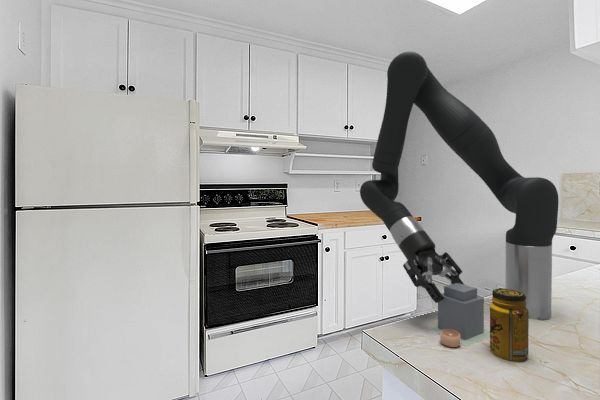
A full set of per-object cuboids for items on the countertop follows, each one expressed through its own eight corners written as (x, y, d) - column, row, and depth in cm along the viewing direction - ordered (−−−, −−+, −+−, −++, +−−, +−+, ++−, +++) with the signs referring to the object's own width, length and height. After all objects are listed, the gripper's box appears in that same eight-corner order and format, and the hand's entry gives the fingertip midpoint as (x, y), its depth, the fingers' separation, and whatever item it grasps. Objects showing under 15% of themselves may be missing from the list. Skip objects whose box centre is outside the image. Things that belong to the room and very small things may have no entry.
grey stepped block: (437, 328, 70) (437, 286, 70) (456, 321, 74) (456, 281, 73) (465, 340, 65) (465, 294, 64) (483, 332, 68) (483, 288, 68)
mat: (455, 318, 76) (455, 317, 76) (497, 335, 67) (497, 334, 67) (425, 328, 71) (425, 326, 71) (466, 347, 62) (466, 346, 62)
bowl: (443, 339, 66) (443, 327, 66) (462, 344, 64) (462, 332, 64) (438, 346, 63) (437, 333, 63) (457, 351, 61) (457, 338, 61)
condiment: (479, 347, 63) (479, 287, 62) (519, 344, 64) (519, 284, 63) (506, 368, 56) (507, 300, 55) (551, 364, 56) (552, 297, 56)
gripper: (399, 232, 74) (442, 294, 65) (439, 227, 81) (483, 283, 71) (382, 250, 79) (420, 311, 69) (422, 244, 86) (461, 299, 76)
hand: (452, 297), depth 70 cm, fingers open, 8 cm apart
